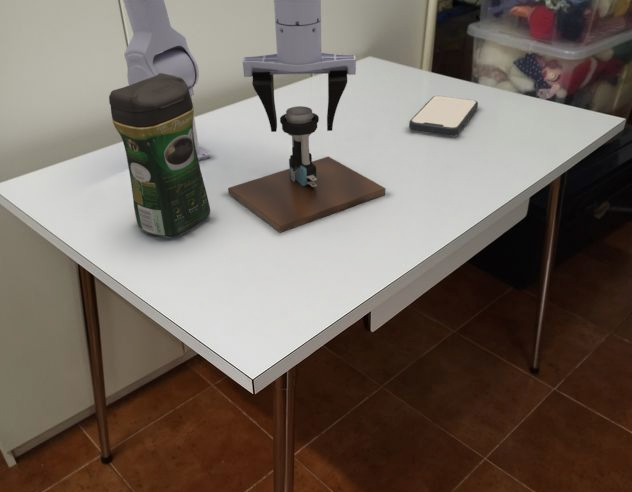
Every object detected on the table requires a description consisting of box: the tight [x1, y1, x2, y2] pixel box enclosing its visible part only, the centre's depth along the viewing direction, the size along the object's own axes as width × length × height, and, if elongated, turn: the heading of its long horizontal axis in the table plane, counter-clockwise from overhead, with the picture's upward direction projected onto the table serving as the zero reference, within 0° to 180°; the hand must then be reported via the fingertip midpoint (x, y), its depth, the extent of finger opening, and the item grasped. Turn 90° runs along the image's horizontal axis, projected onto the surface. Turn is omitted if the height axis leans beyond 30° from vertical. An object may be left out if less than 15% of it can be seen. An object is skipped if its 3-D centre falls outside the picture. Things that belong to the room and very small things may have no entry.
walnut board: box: [227, 156, 386, 233], centre depth 90 cm, size 18×14×1 cm
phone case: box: [408, 95, 479, 137], centre depth 111 cm, size 9×2×16 cm
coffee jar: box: [108, 73, 211, 239], centre depth 79 cm, size 10×8×19 cm
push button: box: [279, 105, 320, 187], centre depth 88 cm, size 7×5×10 cm
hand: (301, 128), depth 86 cm, fingers open, 7 cm apart
